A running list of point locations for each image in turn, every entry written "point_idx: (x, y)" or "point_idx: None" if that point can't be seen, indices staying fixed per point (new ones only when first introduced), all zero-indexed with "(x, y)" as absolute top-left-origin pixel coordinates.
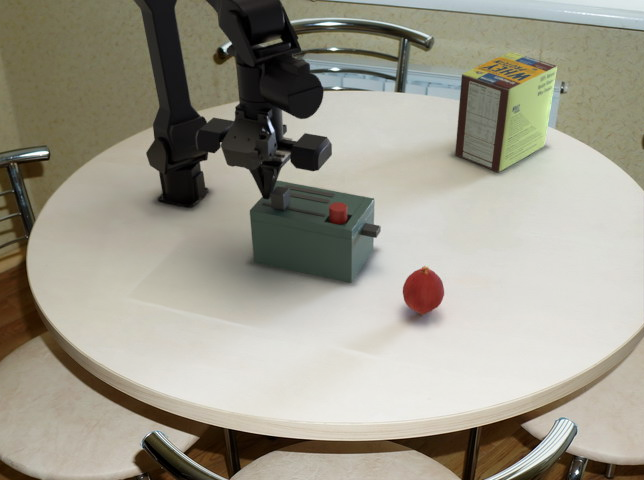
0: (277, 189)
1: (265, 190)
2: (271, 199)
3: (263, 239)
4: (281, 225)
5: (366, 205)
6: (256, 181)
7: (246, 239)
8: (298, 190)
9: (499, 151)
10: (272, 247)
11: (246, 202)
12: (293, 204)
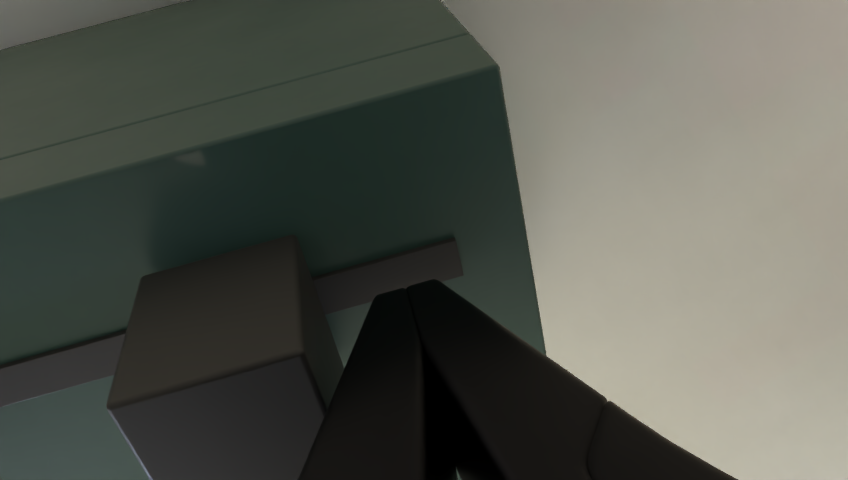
0: (296, 460)
1: (402, 355)
2: (293, 297)
3: (322, 16)
4: (115, 130)
5: None
6: (560, 392)
7: (585, 129)
8: None
9: None
10: (245, 22)
11: (755, 372)
12: None
